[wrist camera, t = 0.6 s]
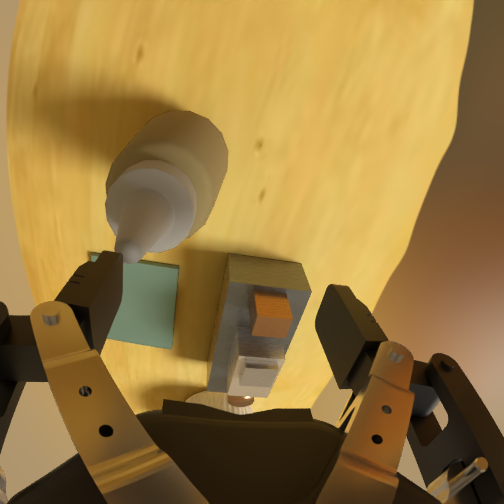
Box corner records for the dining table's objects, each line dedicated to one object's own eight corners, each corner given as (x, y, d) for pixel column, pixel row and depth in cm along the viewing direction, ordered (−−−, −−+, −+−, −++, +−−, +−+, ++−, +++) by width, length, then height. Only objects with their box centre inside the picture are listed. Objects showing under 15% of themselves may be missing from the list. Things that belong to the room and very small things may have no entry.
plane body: (228, 253, 33) (230, 307, 25) (301, 263, 34) (320, 316, 27) (207, 362, 42) (206, 414, 34) (262, 367, 43) (269, 417, 36)
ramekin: (251, 380, 45) (255, 418, 39) (260, 419, 52) (263, 451, 46) (167, 387, 45) (163, 424, 39) (189, 424, 51) (188, 456, 46)
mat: (92, 252, 31) (91, 255, 31) (179, 266, 33) (178, 269, 33) (101, 333, 38) (100, 337, 37) (172, 346, 40) (171, 349, 39)
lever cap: (237, 326, 32) (239, 364, 27) (279, 330, 32) (286, 367, 28) (226, 367, 35) (227, 402, 31) (263, 370, 36) (268, 404, 31)
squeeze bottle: (222, 99, 25) (212, 126, 9) (234, 184, 29) (244, 317, 14) (133, 117, 25) (16, 178, 9) (151, 197, 29) (84, 331, 14)
